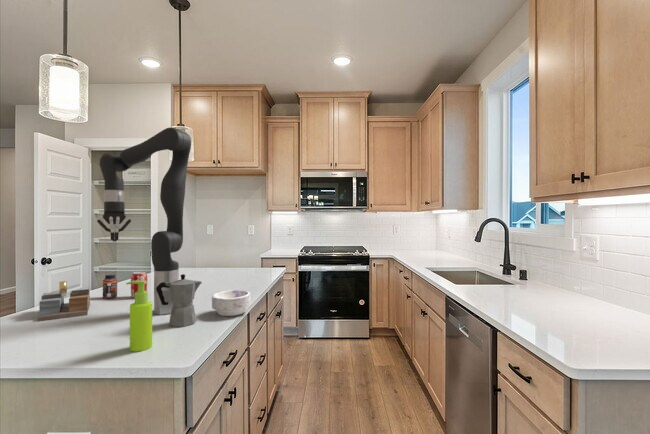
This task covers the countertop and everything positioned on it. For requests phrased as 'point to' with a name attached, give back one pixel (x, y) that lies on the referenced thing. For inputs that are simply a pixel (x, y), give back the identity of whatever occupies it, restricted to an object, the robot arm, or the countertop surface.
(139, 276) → the soda can
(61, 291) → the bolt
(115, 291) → the supplement bottle
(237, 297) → the white marbled bowl
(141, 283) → the soap dispenser
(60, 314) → the block holder
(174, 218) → the robot arm
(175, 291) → the coffeepot
